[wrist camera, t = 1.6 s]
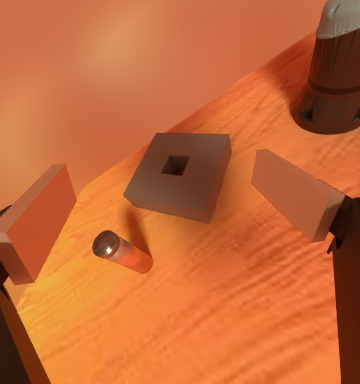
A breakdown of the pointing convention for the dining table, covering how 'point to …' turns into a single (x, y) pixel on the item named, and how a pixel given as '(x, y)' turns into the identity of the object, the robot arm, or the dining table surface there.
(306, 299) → the dining table surface
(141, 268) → the steel pin
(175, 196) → the block
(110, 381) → the dining table surface
